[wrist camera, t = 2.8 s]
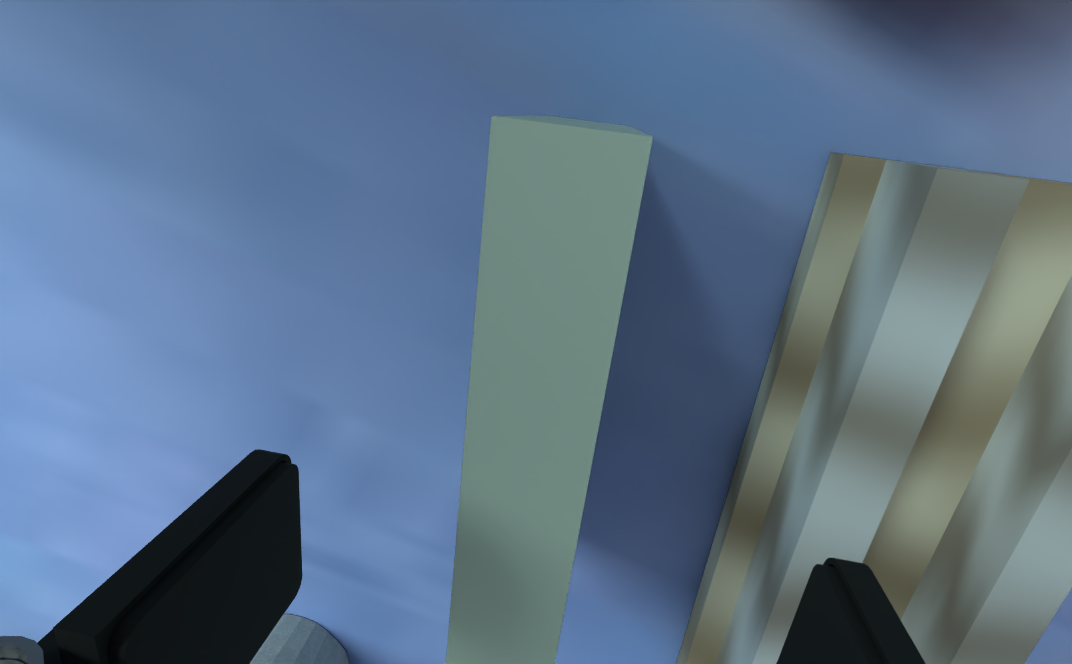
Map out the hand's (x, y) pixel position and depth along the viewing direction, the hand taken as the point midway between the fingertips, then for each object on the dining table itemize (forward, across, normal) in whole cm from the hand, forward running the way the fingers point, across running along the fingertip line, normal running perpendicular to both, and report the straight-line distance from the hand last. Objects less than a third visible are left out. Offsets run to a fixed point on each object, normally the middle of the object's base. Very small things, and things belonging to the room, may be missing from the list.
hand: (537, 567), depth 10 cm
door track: (+10, -11, +5) cm, 16 cm away
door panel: (+10, +1, -1) cm, 10 cm away
